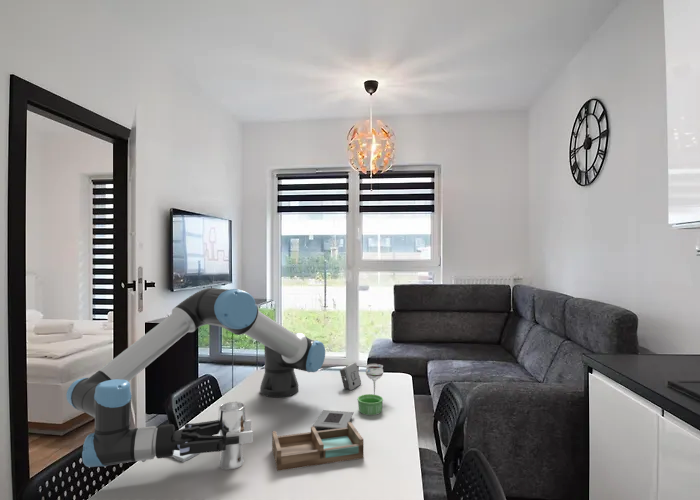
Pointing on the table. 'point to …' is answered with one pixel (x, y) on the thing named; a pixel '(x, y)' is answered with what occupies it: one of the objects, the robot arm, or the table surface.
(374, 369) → the wineglass
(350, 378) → the electrical switch
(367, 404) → the ramekin
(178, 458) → the external hard drive
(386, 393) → the table surface
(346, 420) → the electrical outlet
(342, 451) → the caddy
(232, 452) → the chrome pint tumbler
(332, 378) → the table surface
